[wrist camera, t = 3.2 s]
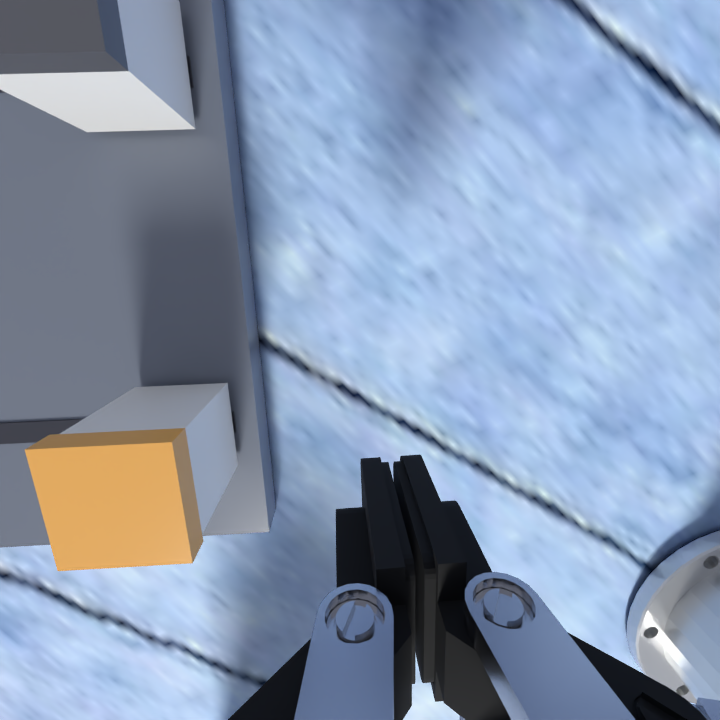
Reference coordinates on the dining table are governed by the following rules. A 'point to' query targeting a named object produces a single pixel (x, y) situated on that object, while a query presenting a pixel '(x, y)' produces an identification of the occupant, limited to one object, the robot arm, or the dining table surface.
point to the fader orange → (136, 477)
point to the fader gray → (98, 62)
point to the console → (128, 279)
